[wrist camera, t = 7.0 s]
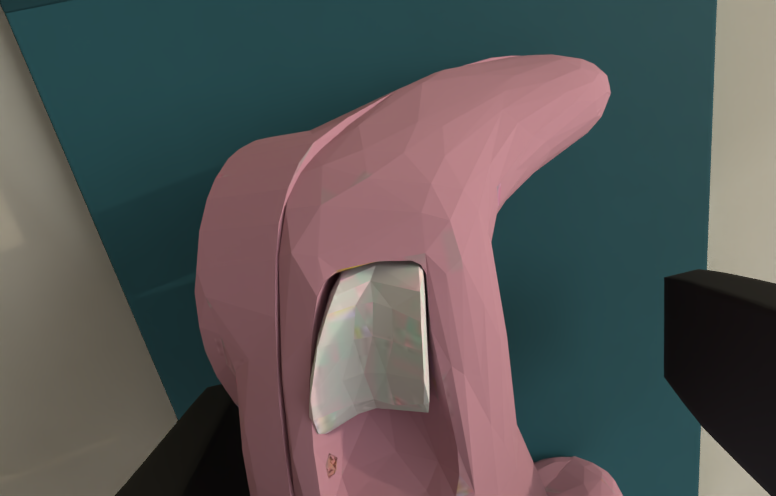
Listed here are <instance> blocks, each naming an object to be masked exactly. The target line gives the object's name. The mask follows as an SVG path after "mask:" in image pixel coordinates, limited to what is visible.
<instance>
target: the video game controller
mask: <svg viewBox="0 0 776 496" xmlns="http://www.w3.org/2000/svg"><path fill="white" fill-rule="evenodd" d="M610 94H611V92H610V85H609V81H608V77H607V75H606V74H605V73H604V72H603V71H602V70H600V69H599V68H598V67H597V66H596V65H595V64H593V63H591V62H588V61H586V60H583V59H580V58H573V57H566V56H559V55H552V54H550V55H527V56H504V57H495V58H489V59H485V60H482V61H478V62H475V63H471V64H467V65H464V66H460V67H456V68H451V69H445V70H442V71H439V72H435V73H433V74H431V75H429V76H426V77H424V78H422V79H420V80H418V81H416V82H413V83H411V84H409V85H407V86H405V87H402V88H400V89H397V90H395V91H393V92H391V93H389V94H387V95H384V96H382V97H380V98H378V99H376V100H374V101H372V102H370V103H367V104H365V105H363V106H361V107H359V108H357V109H355V110H353V111H350V112H348V113H346V114H344V115H342V116H340V117H338V118H336V119H333V120H331V121H329V122H327V123H325V124H323V125H321V126H319V127H316V128H314V129H312V130H310V131H304V132H298V133H292V134H286V135H280V136H274V137H269V138H264V139H259V140H255V141H253V142H251V143H249V144H248V145H246V146H244V147H242V148H240V149H239V150H238V151H236V152H235V153H234V154H233V155H232V156H231V157H229V158H228V160H227V161H226V163H225V164H224V166H223V167H222V169H221V170H220V172H219V174H218V175H217V177H216V178H215V180H214V183H213V185H212V188H211V190H210V193H209V195H208V198H207V201H206V205H205V209H204V213H203V218H202V222H201V226H200V230H199V242H198V255H197V268H196V281H195V299H196V306H197V314H198V321H199V328H200V332H201V336H202V340H203V344H204V349H205V352H206V354H207V356H208V358H209V361H210V363H211V365H212V367H213V369H214V372H215V374H216V376H217V378H218V379H219V381H220V382H221V384H222V385H223V387H224V388H225V390H226V391H227V392H228V394H229V395H230V397H231V398H232V400H233V401H234V403H235V404H236V405H237V406H238V407H239V417H240V429H241V440H242V451H243V457H244V463H245V469H246V474H247V480H248V485H249V491H250V496H623V495H622V493H621V491H620V489H619V487H618V485H617V484H616V482H615V480H614V479H613V478H612V477H611V475H610V474H609V473H608V472H607V471H605V470H604V469H602V468H601V467H599V466H597V465H596V464H594V463H592V462H589V461H586V460H584V459H581V458H578V457H576V456H573V457H554V458H546V459H542V460H539V461H537V462H533V460H532V458H531V456H530V453H529V451H528V449H527V446H526V444H525V442H524V440H523V437H522V435H521V433H520V431H519V428H518V426H517V422H516V413H515V404H514V395H513V385H512V376H511V367H510V358H509V349H508V340H507V333H506V327H505V321H504V315H503V309H502V303H501V298H500V292H499V286H498V280H497V274H496V268H495V262H494V256H493V250H492V244H491V241H492V236H493V231H494V226H495V220H496V215H497V213H498V212H499V210H500V209H501V207H502V206H503V204H504V203H505V201H506V200H507V199H508V198H509V197H510V196H511V195H512V194H513V193H514V192H515V191H516V190H517V189H518V188H519V187H520V186H521V185H522V184H523V183H524V182H525V181H526V180H527V179H528V178H529V177H530V176H531V175H532V174H533V173H534V172H536V171H537V170H538V169H540V168H541V167H542V166H544V165H545V164H546V163H548V162H549V161H550V160H552V159H553V158H554V157H556V156H557V155H558V154H560V153H561V152H562V151H564V150H565V149H566V148H568V147H569V146H571V145H572V144H573V143H575V142H576V141H577V140H579V139H580V138H581V137H583V136H584V135H585V134H587V133H588V132H589V131H590V130H591V128H592V127H593V126H594V125H595V124H596V123H597V121H598V120H599V119H600V118H601V117H602V114H603V112H604V109H605V107H606V104H607V102H608V99H609V97H610Z"/></svg>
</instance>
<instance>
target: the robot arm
mask: <svg viewBox="0 0 776 496" xmlns="http://www.w3.org/2000/svg"><path fill="white" fill-rule="evenodd" d="M664 378H665V379H666V380H667V382H668V383H669V384H670V386H671V387H672V389H673V390H674V391H675V393H676V394H677V395H678V397H679V398H680V399H681V401H682V402H683V403H684V405H685V406H686V407H687V408H688V410H689V411H690V412H691V413H692V415H693V416H694V417H695V418H696V420H697V421H698V422H699V423H700V425H701V426H702V427H703V428H704V429H705V430H706V431H707V432H708V433H709V434H710V435H711V436H712V437H713V438H714V439H715V440H716V441H717V442H718V443H719V444H720V445H721V446H722V447H723V448H724V449H725V450H726V451H727V452H728V453H729V454H730V455H731V456H732V457H733V459H734V460H735V461H736V462H737V463H738V464H739V465H740V466H741V467H742V468H743V469H744V470H745V471H746V472H747V473H748V474H750V475H751V476H752V477H753V478H754V479H755V480H756V481H757V482H758V483H759V484H760V485H761V486H762V487H763V488H764V489H765V490H766V491H767V492H768V493H769V494H770V495H771V496H776V284H775V283H771V282H766V281H762V280H757V279H753V278H748V277H743V276H738V275H733V274H728V273H723V272H717V271H710V270H702V269H697V270H692V271H688V272H684V273H680V274H676V275H672V276H667V277H664ZM115 496H250V491H249V485H248V480H247V474H246V469H245V463H244V457H243V451H242V440H241V429H240V417H239V407H238V406H237V405H236V404H235V403H234V401H233V400H232V398H231V397H230V395H229V394H228V392H227V391H226V390H225V388H224V387H223V385H222V384H219V385H215V386H211V387H207V388H206V389H205V390H204V391H203V392H202V394H201V395H200V396H199V397H198V398H197V399H196V400H195V401H194V403H193V404H192V405H191V406H190V407H189V408H188V410H187V411H186V412H185V413H184V414H183V416H182V417H181V418H180V419H179V421H178V422H177V423H176V424H175V425H174V427H173V428H172V429H171V430H170V431H169V433H168V434H167V435H166V436H165V438H164V439H163V440H162V441H161V442H160V444H159V445H158V446H157V447H156V448H155V449H154V451H153V452H152V453H151V454H150V455H149V457H148V458H147V459H146V460H145V461H144V462H143V464H142V465H141V466H140V467H139V468H138V470H137V471H136V472H135V473H134V474H133V476H132V477H131V478H130V479H129V480H128V481H127V483H126V484H125V485H124V486H123V487H122V488H121V489H120V490H119V492H118V493H117V494H116V495H115Z"/></svg>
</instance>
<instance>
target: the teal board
mask: <svg viewBox="0 0 776 496" xmlns="http://www.w3.org/2000/svg"><path fill="white" fill-rule="evenodd" d="M0 5H1V7H2V9H3V11H4V13H5V15H6V17H7V19H8V22H9V24H10V27H11V29H12V31H13V34H14V36H15V38H16V41H17V43H18V45H19V48H20V50H21V52H22V55H23V57H24V59H25V62H26V64H27V66H28V69H29V71H30V73H31V76H32V78H33V81H34V83H35V85H36V88H37V90H38V92H39V95H40V97H41V99H42V102H43V104H44V106H45V109H46V111H47V113H48V116H49V118H50V120H51V123H52V125H53V127H54V130H55V132H56V135H57V137H58V139H59V142H60V144H61V146H62V149H63V151H64V153H65V156H66V158H67V160H68V163H69V165H70V167H71V170H72V172H73V174H74V177H75V179H76V181H77V184H78V186H79V189H80V191H81V193H82V196H83V198H84V200H85V203H86V205H87V207H88V210H89V212H90V214H91V217H92V219H93V221H94V224H95V226H96V228H97V231H98V233H99V235H100V238H101V240H102V242H103V245H104V247H105V250H106V252H107V254H108V257H109V259H110V261H111V264H112V266H113V268H114V271H115V273H116V275H117V278H118V280H119V282H120V285H121V287H122V289H123V292H124V294H125V296H126V299H127V301H128V304H129V306H130V308H131V311H132V313H133V315H134V318H135V320H136V322H137V325H138V327H139V329H140V332H141V334H142V336H143V339H144V341H145V343H146V346H147V348H148V350H149V353H150V355H151V358H152V360H153V362H154V365H155V367H156V369H157V372H158V374H159V376H160V379H161V381H162V383H163V386H164V388H165V390H166V393H167V395H168V397H169V400H170V402H171V404H172V407H173V409H174V412H175V414H176V416H177V419H178V421H179V419H180V418H181V417H182V416H183V414H184V413H185V412H186V411H187V410H188V408H189V407H190V406H191V405H192V404H193V403H194V401H195V400H196V399H197V398H198V397H199V396H200V395H201V394H202V392H203V391H204V390H205V389H206V388H207V387H211V386H215V385H219V384H221V382H220V381H219V379H218V378H217V376H216V374H215V372H214V369H213V367H212V365H211V363H210V361H209V358H208V356H207V354H206V352H205V349H204V344H203V340H202V336H201V332H200V328H199V321H198V314H197V306H196V299H195V281H196V268H197V255H198V242H199V230H200V226H201V222H202V218H203V213H204V209H205V205H206V201H207V198H208V195H209V193H210V190H211V188H212V185H213V183H214V180H215V178H216V177H217V175H218V174H219V172H220V170H221V169H222V167H223V166H224V164H225V163H226V161H227V160H228V158H229V157H231V156H232V155H233V154H234V153H235V152H236V151H238V150H239V149H240V148H242V147H244V146H246V145H248V144H249V143H251V142H253V141H255V140H259V139H264V138H269V137H274V136H280V135H286V134H292V133H298V132H304V131H310V130H312V129H314V128H316V127H319V126H321V125H323V124H325V123H327V122H329V121H331V120H333V119H336V118H338V117H340V116H342V115H344V114H346V113H348V112H350V111H353V110H355V109H357V108H359V107H361V106H363V105H365V104H367V103H370V102H372V101H374V100H376V99H378V98H380V97H382V96H384V95H387V94H389V93H391V92H393V91H395V90H397V89H400V88H402V87H405V86H407V85H409V84H411V83H413V82H416V81H418V80H420V79H422V78H424V77H426V76H429V75H431V74H433V73H435V72H439V71H442V70H445V69H451V68H456V67H460V66H464V65H467V64H471V63H475V62H478V61H482V60H485V59H489V58H495V57H504V56H527V55H550V54H552V55H559V56H566V57H573V58H580V59H583V60H586V61H588V62H591V63H593V64H595V65H596V66H597V67H598V68H599V69H600V70H602V71H603V72H604V73H605V74H606V75H607V77H608V81H609V85H610V92H611V94H610V97H609V99H608V102H607V104H606V107H605V109H604V112H603V114H602V117H601V118H600V119H599V120H598V121H597V123H596V124H595V125H594V126H593V127H592V128H591V130H590V131H589V132H588V133H587V134H585V135H584V136H583V137H581V138H580V139H579V140H577V141H576V142H575V143H573V144H572V145H571V146H569V147H568V148H566V149H565V150H564V151H562V152H561V153H560V154H558V155H557V156H556V157H554V158H553V159H552V160H550V161H549V162H548V163H546V164H545V165H544V166H542V167H541V168H540V169H538V170H537V171H536V172H534V173H533V174H532V175H531V176H530V177H529V178H528V179H527V180H526V181H525V182H524V183H523V184H522V185H521V186H520V187H519V188H518V189H517V190H516V191H515V192H514V193H513V194H512V195H511V196H510V197H509V198H508V199H507V200H506V201H505V203H504V204H503V206H502V207H501V209H500V210H499V212H498V213H497V215H496V220H495V226H494V231H493V236H492V241H491V244H492V250H493V256H494V262H495V268H496V274H497V280H498V286H499V292H500V298H501V303H502V309H503V315H504V321H505V327H506V333H507V340H508V349H509V358H510V367H511V376H512V385H513V395H514V404H515V413H516V422H517V426H518V428H519V431H520V433H521V435H522V437H523V440H524V442H525V444H526V446H527V449H528V451H529V453H530V456H531V458H532V460H533V462H537V461H539V460H542V459H546V458H554V457H573V456H576V457H578V458H581V459H584V460H586V461H589V462H592V463H594V464H596V465H597V466H599V467H601V468H602V469H604V470H605V471H607V472H608V473H609V474H610V475H611V477H612V478H613V479H614V480H615V482H616V484H617V485H618V487H619V489H620V491H621V493H622V495H623V496H698V487H699V461H700V434H701V425H700V423H699V422H698V421H697V420H696V418H695V417H694V416H693V415H692V413H691V412H690V411H689V410H688V408H687V407H686V406H685V405H684V403H683V402H682V401H681V399H680V398H679V397H678V395H677V394H676V393H675V391H674V390H673V389H672V387H671V386H670V384H669V383H668V382H667V380H666V379H665V378H664V277H667V276H672V275H676V274H680V273H684V272H688V271H692V270H697V269H702V270H707V248H708V222H709V195H710V169H711V142H712V116H713V89H714V62H715V36H716V9H717V0H0Z"/></svg>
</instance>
